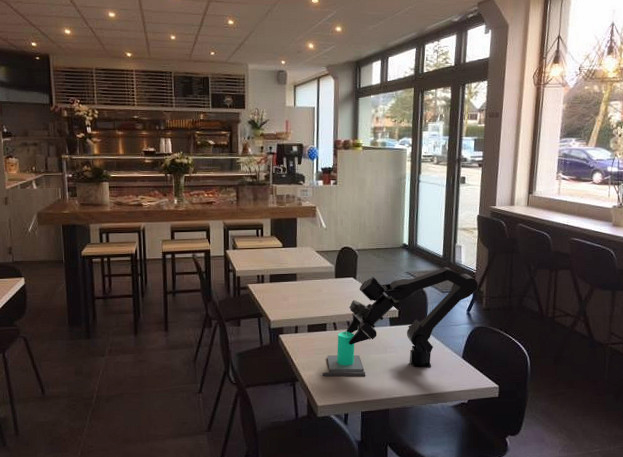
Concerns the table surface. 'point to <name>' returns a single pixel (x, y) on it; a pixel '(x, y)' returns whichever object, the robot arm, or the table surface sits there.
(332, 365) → the slate coaster
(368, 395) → the table surface
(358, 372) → the dark grey bar
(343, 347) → the candle
